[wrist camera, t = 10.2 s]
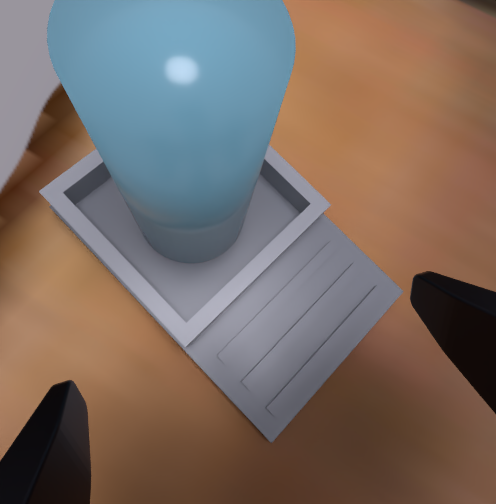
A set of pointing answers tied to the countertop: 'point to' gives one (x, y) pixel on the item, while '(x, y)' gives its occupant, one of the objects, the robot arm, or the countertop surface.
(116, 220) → the kitchen sink with drainboard
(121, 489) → the countertop surface
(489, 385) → the robot arm
